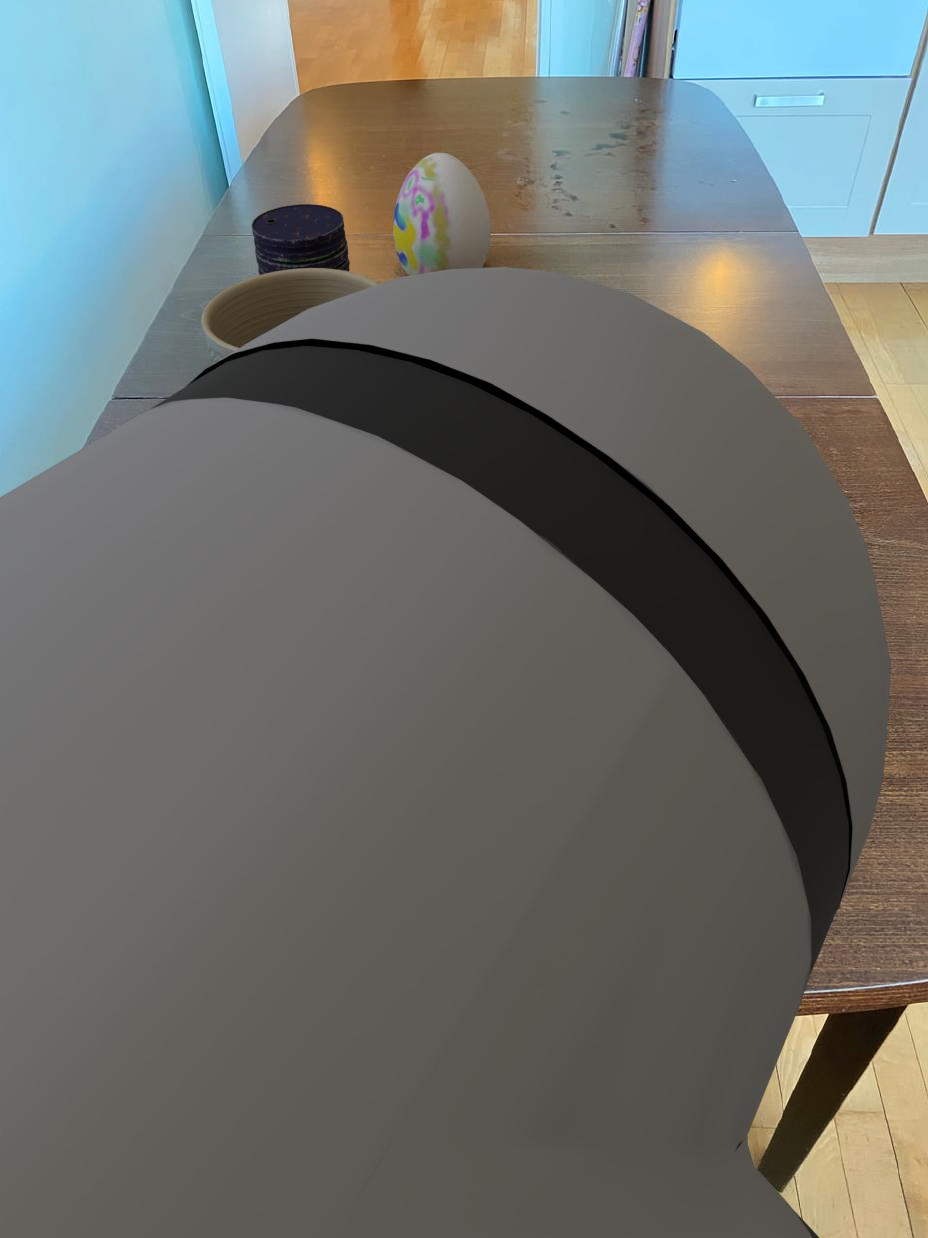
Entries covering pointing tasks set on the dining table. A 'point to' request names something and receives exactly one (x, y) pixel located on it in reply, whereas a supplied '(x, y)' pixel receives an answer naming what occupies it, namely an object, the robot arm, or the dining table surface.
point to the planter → (271, 304)
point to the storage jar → (300, 239)
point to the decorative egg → (441, 218)
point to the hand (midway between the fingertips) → (451, 726)
